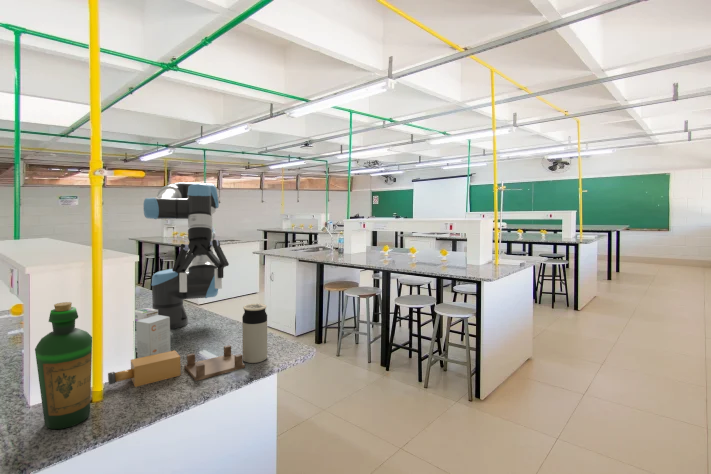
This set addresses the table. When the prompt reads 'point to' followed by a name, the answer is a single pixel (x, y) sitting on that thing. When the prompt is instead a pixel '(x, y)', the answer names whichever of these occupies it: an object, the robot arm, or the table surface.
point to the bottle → (64, 369)
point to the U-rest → (214, 365)
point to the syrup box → (142, 315)
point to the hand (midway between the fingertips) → (200, 290)
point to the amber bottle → (149, 369)
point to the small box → (153, 335)
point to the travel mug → (254, 333)
